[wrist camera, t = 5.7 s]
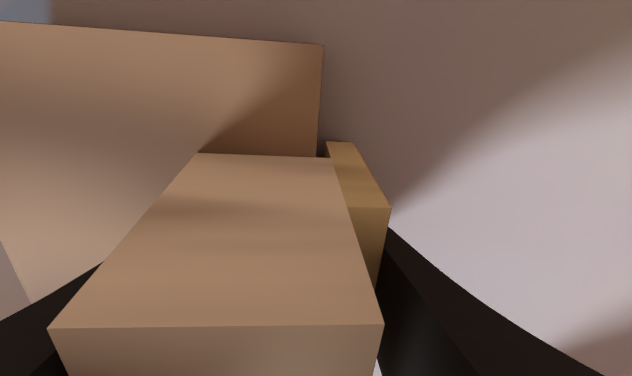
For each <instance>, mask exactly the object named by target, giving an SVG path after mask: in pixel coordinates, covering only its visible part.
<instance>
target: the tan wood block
mask: <svg viewBox="0 0 632 376" xmlns="http://www.w3.org/2000/svg"><path fill="white" fill-rule="evenodd" d="M390 213H391V206H390V204H389V203H388V201H387V199H386V198H385V196H384V194H383V192H382V191H381V189H380V187H379V186H378V184H377V182H376V181H375V179H374V177H373V175H372V174H371V172H370V170H369V169H368V167H367V165H366V164H365V162H364V160H363V158H362V157H361V155H360V153H359V152H358V150H357V148H356V147H355V145H354V143H353V142H332V141H326V142H325V154H324V158H317V157H291V156H265V155H239V154H213V153H196V154H195V155H194V156H193V157H192V158H191V160H190V161H189V162H188V163H187V164H186V166H185V167H184V168H183V169H182V170H181V171H180V173H179V174H178V175H177V176H176V177H175V178H174V180H173V181H172V182H171V183H170V184H169V185H168V187H167V188H166V189H165V190H164V191H163V192H162V194H161V195H160V196H159V197H158V198H157V200H156V201H155V202H154V203H153V204H152V205H151V207H150V208H149V209H148V210H147V211H146V212H145V214H144V215H143V216H142V217H141V218H140V219H139V221H138V222H137V223H136V224H135V225H134V227H133V228H132V229H131V230H130V231H129V232H128V234H127V235H126V236H125V237H124V238H123V239H122V241H121V242H120V243H119V244H118V245H117V246H116V248H115V249H114V250H113V251H112V252H111V253H110V255H109V256H108V257H107V258H106V259H105V261H104V262H103V263H102V264H101V265H100V266H99V268H98V269H97V270H96V271H95V272H94V273H93V275H92V276H91V277H90V278H89V279H88V280H87V282H86V283H85V284H84V285H83V286H82V287H81V289H80V290H79V291H78V292H77V293H76V295H75V296H74V297H73V298H72V299H71V300H70V302H69V303H68V304H67V305H66V306H65V307H64V309H63V310H62V311H61V312H60V313H59V314H58V316H57V317H56V318H55V319H54V320H53V321H52V323H51V324H50V325H49V326H48V327H47V331H48V333H49V335H50V337H51V339H52V341H53V343H54V346H55V348H56V350H57V352H58V354H59V356H60V358H61V360H62V362H63V365H64V367H65V369H66V371H67V373H68V375H69V376H372V375H373V371H374V367H375V363H376V359H377V354H378V350H379V346H380V342H381V338H382V334H383V329H384V325H385V323H384V320H383V317H382V314H381V311H380V308H379V305H378V302H377V299H376V296H375V293H374V292H375V287H376V282H377V277H378V272H379V267H380V262H381V257H382V252H383V248H384V243H385V238H386V233H387V228H388V223H389V218H390Z"/></svg>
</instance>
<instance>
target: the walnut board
mask: <svg viewBox="0 0 632 376" xmlns="http://www.w3.org/2000/svg"><path fill="white" fill-rule="evenodd" d="M323 50H324V45H319V44H307V43H293V42H280V41H267V40H253V39H240V38H227V37H213V36H200V35H187V34H173V33H160V32H147V31H134V30H120V29H107V28H94V27H80V26H67V25H54V24H40V23H27V22H13V21H0V240H1V242H2V244H3V246H4V248H5V250H6V253H7V255H8V257H9V259H10V261H11V263H12V265H13V267H14V269H15V271H16V274H17V276H18V278H19V280H20V281H21V284H22V286H23V288H24V290H25V292H26V294H27V297H28V298H29V301H30V303H31V304H33V303H35V302H37V301H38V300H40V299H42V298H44V297H45V296H47V295H49V294H51V293H52V292H54V291H56V290H57V289H59V288H61V287H62V286H64V285H65V284H67V283H69V282H70V281H72V280H74V279H75V278H77V277H79V276H80V275H82V274H84V273H85V272H87V271H89V270H90V269H92V268H93V267H95V266H97V265H98V264H100V263H101V262H103V261H104V260H105V259H106V258H107V257H108V256H109V255H110V253H111V252H112V251H113V250H114V249H115V248H116V246H117V245H118V244H119V243H120V242H121V241H122V239H123V238H124V237H125V236H126V235H127V234H128V232H129V231H130V230H131V229H132V228H133V227H134V225H135V224H136V223H137V222H138V221H139V219H140V218H141V217H142V216H143V215H144V214H145V212H146V211H147V210H148V209H149V208H150V207H151V205H152V204H153V203H154V202H155V201H156V200H157V198H158V197H159V196H160V195H161V194H162V192H163V191H164V190H165V189H166V188H167V187H168V185H169V184H170V183H171V182H172V181H173V180H174V178H175V177H176V176H177V175H178V174H179V173H180V171H181V170H182V169H183V168H184V167H185V166H186V164H187V163H188V162H189V161H190V160H191V158H192V157H193V156H194V155H195V154H196V153H213V154H239V155H265V156H291V157H316V147H317V133H318V119H319V106H320V92H321V78H322V64H323Z"/></svg>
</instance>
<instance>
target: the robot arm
mask: <svg viewBox="0 0 632 376" xmlns="http://www.w3.org/2000/svg"><path fill="white" fill-rule="evenodd" d="M104 261H105V260H104ZM104 261H103V262H104ZM103 262H101V263H100V264H98V265H97V266H95V267H93V268H92V269H90V270H89V271H87V272H85V273H84V274H82V275H80V276H79V277H77V278H75V279H74V280H72V281H70V282H69V283H67V284H65V285H64V286H62V287H61V288H59V289H57V290H56V291H54V292H52V293H51V294H49V295H47V296H45V297H44V298H42V299H40V300H38V301H37V302H35V303H33V304H31V305H29V306H28V307H26V308H24V309H22V310H20V311H18V312H17V313H15V314H13V315H11V316H9V317H7V318H5V319H3V320H1V321H0V376H69V375H68V373H67V371H66V369H65V367H64V365H63V362H62V360H61V358H60V356H59V354H58V352H57V350H56V348H55V346H54V343H53V341H52V339H51V337H50V335H49V333H48V331H47V327H48V326H49V325H50V324H51V323H52V321H53V320H54V319H55V318H56V317H57V316H58V314H59V313H60V312H61V311H62V310H63V309H64V307H65V306H66V305H67V304H68V303H69V302H70V300H71V299H72V298H73V297H74V296H75V295H76V293H77V292H78V291H79V290H80V289H81V287H82V286H83V285H84V284H85V283H86V282H87V280H88V279H89V278H90V277H91V276H92V275H93V273H94V272H95V271H96V270H97V269H98V268H99V266H100V265H101V264H102V263H103ZM374 293H375V296H376V299H377V302H378V305H379V308H380V311H381V314H382V317H383V320H384V323H385V325H384V329H383V334H382V338H381V342H380V346H379V350H378V354H377V360H378V363H379V367H380V370H381V373H382V376H604V375H602V374H600V373H598V372H597V371H595V370H593V369H591V368H589V367H587V366H585V365H584V364H582V363H580V362H578V361H576V360H575V359H573V358H571V357H569V356H568V355H566V354H564V353H563V352H561V351H559V350H557V349H556V348H554V347H552V346H550V345H549V344H547V343H545V342H543V341H542V340H540V339H538V338H537V337H535V336H533V335H532V334H530V333H529V332H527V331H525V330H524V329H522V328H520V327H519V326H517V325H516V324H514V323H513V322H511V321H510V320H508V319H507V318H505V317H504V316H502V315H500V314H499V313H497V312H496V311H494V310H493V309H491V308H490V307H488V306H487V305H485V304H484V303H483V302H481V301H480V300H478V299H477V298H476V297H474V296H473V295H471V294H470V293H469V292H467V291H466V290H465V289H463V288H462V287H461V286H459V285H458V284H457V283H455V282H454V281H453V280H451V279H450V278H449V277H448V276H446V275H445V274H444V273H443V272H441V271H440V270H439V269H438V268H436V267H435V266H434V265H433V264H431V263H430V262H429V261H428V260H427V259H425V258H424V257H423V256H422V255H421V254H420V253H418V252H417V251H416V250H415V249H414V248H413V247H411V246H410V245H409V244H408V243H407V242H406V241H404V240H403V239H402V238H401V237H400V236H399V235H398V234H396V233H395V232H394V231H393V230H392V229H390V228H389V227H388V228H387V233H386V238H385V243H384V248H383V252H382V257H381V262H380V267H379V272H378V277H377V282H376V287H375V292H374Z"/></svg>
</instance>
